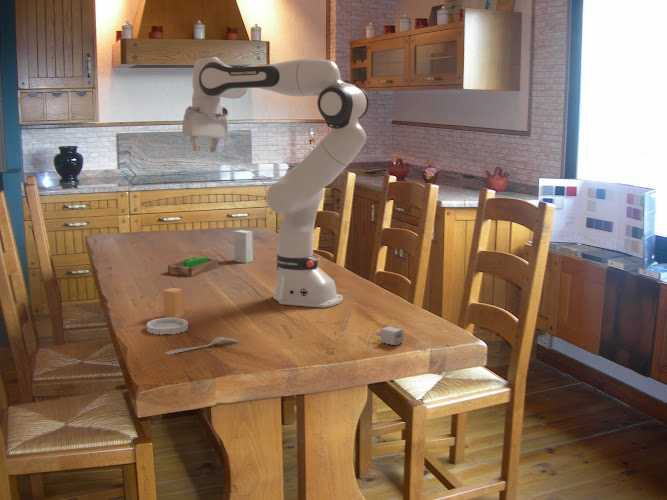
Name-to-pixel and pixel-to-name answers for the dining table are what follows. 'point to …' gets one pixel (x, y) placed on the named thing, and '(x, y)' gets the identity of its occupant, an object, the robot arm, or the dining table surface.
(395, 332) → the usb wall charger
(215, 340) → the fork
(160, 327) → the ring dish
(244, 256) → the skincare box
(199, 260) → the pipe clamp
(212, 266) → the frame
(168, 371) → the dining table surface
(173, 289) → the wooden toy brick
